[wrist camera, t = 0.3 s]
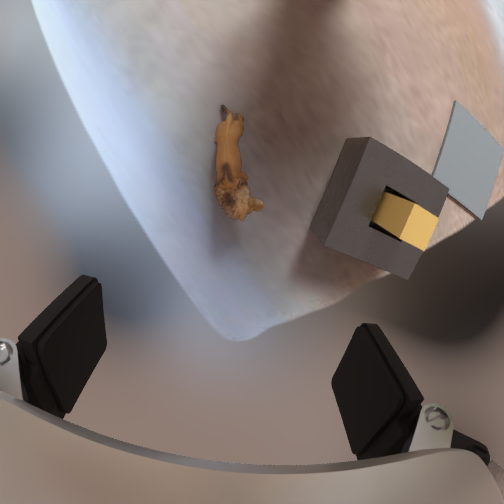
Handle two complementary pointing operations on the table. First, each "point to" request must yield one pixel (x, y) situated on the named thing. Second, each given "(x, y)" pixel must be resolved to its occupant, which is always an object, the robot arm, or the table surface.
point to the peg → (405, 220)
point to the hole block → (373, 204)
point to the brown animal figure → (232, 170)
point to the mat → (468, 161)
